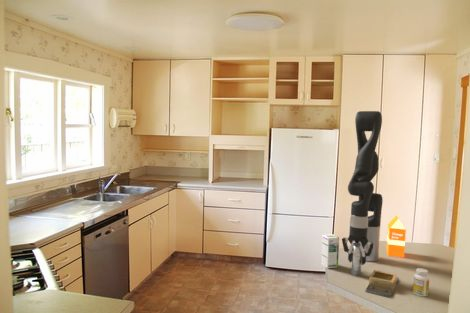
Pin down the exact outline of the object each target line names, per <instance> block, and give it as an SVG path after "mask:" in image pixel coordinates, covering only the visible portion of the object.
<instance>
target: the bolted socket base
mask: <svg viewBox="0 0 470 313" xmlns="http://www.w3.org/2000/svg"><path fill="white" fill-rule="evenodd" d="M368 281H369V282H368V285H367V286H366V288H365V292H366V293H370V294H373V295H378V296H381V297H386V298H391V296H392V294H393V293H394V290H395V288H396V286H397V283H398V281H399V276H397V274H393V273H389V272H386V271H385V272H384V271H382V270H381V271H380V270H376V269H374V270H373V271H372V272H371V274H370V275H369V280H368Z"/></svg>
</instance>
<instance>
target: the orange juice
mask: <svg viewBox="0 0 470 313" xmlns="http://www.w3.org/2000/svg"><path fill="white" fill-rule="evenodd" d="M403 224H404V223H402V221H401V220H400V218H399V217H398V215H397V214H396V215H395V216H394V217H393V218H392V219H391V220H390V221H389V223H387V234H386V253H387V254H386V255H387V256H388V257H396V258H405V248H406V233H407V232H406V231H407V229H406V227H404V225H403Z"/></svg>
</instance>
